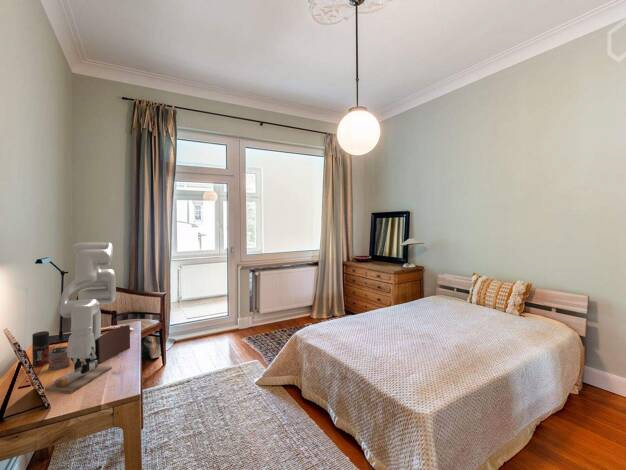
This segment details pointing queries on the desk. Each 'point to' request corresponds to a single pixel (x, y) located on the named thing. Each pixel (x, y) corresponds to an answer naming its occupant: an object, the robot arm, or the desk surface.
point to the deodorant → (40, 348)
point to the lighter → (58, 358)
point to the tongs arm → (75, 375)
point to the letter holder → (112, 343)
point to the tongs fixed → (72, 372)
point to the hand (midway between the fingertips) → (81, 371)
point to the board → (80, 380)
